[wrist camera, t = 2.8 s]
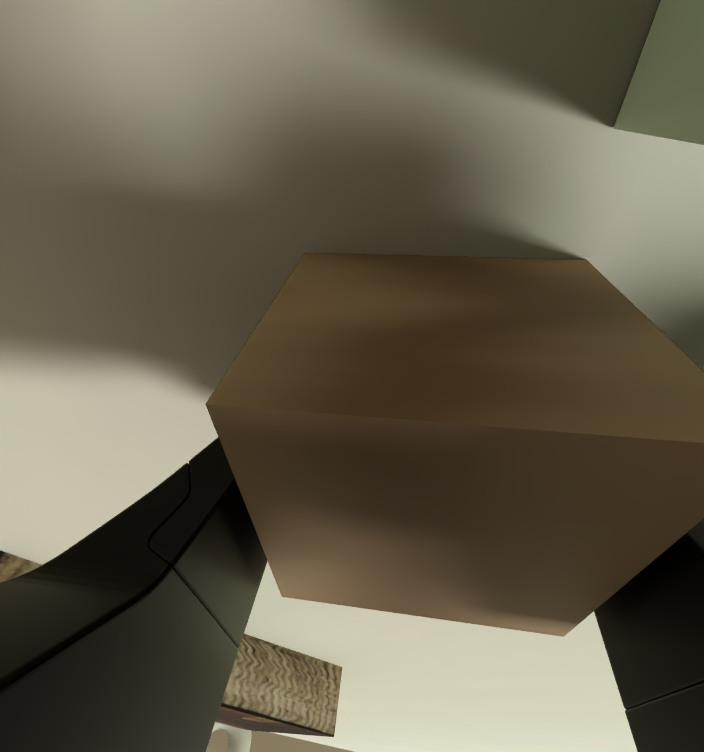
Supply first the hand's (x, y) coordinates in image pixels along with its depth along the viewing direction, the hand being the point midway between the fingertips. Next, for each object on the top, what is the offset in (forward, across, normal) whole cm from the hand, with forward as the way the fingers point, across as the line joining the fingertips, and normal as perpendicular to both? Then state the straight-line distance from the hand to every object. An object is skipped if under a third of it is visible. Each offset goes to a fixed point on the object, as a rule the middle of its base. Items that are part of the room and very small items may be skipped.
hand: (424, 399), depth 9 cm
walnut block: (+1, 0, 0) cm, 1 cm away
